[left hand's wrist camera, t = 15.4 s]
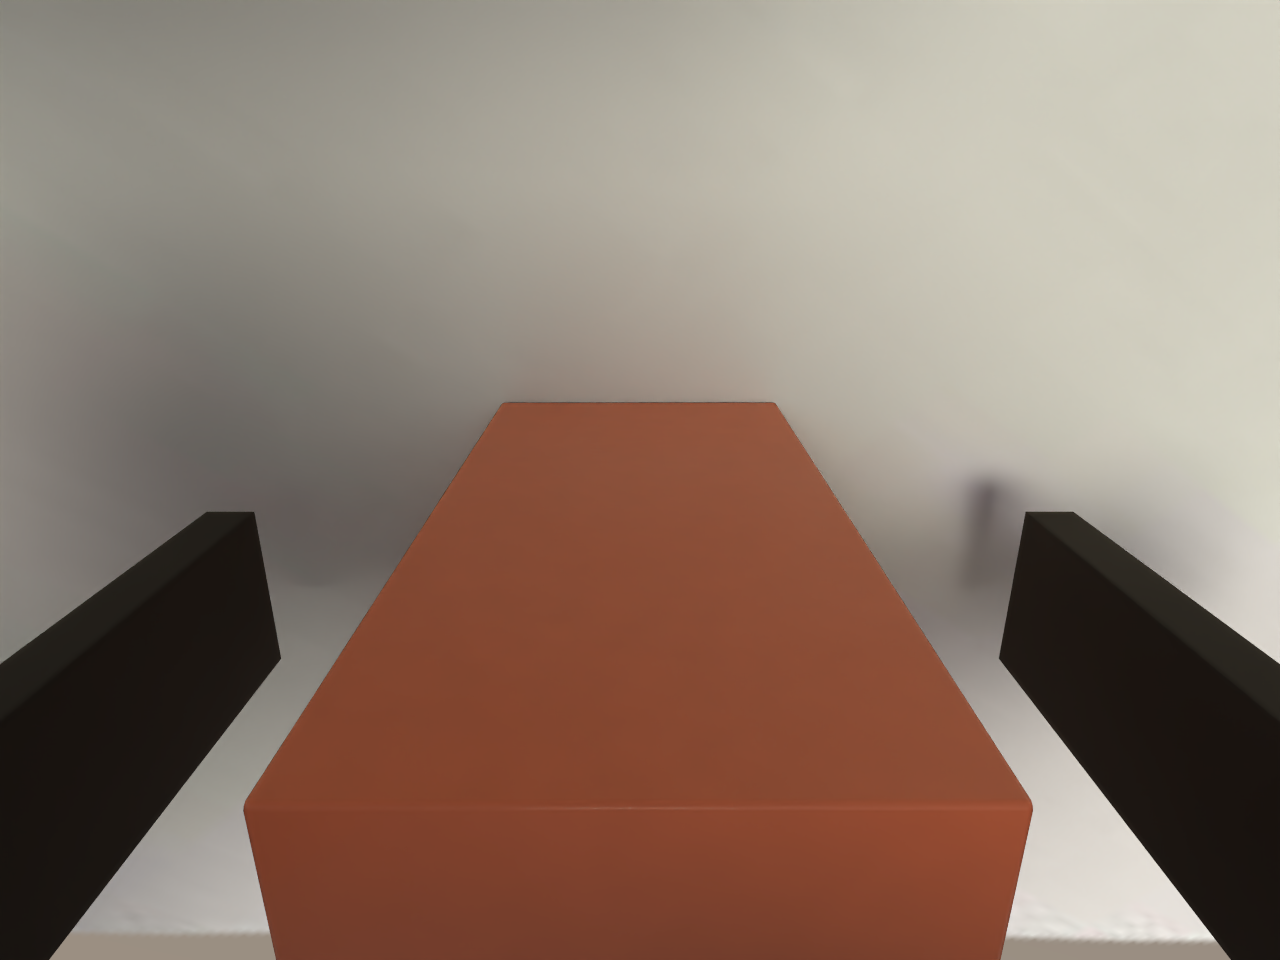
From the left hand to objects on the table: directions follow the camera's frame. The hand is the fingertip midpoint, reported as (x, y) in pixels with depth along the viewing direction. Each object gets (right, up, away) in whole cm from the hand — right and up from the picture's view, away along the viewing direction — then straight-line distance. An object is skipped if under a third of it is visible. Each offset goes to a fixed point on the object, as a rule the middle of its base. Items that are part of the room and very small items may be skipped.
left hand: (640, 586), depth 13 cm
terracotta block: (0, +1, +2) cm, 2 cm away
